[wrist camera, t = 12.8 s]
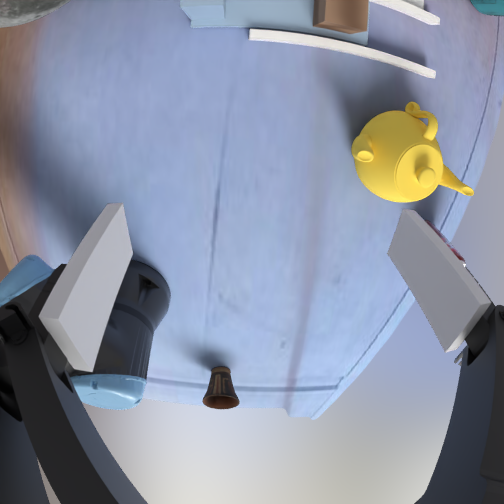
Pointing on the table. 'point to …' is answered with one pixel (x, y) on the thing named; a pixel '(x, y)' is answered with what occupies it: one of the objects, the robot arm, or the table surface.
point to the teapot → (402, 156)
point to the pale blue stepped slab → (263, 16)
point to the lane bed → (407, 3)
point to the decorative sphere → (26, 10)
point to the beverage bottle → (489, 7)
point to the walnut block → (341, 15)
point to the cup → (220, 390)
